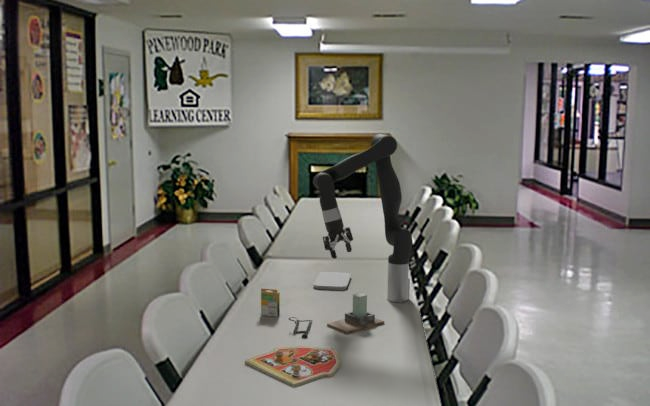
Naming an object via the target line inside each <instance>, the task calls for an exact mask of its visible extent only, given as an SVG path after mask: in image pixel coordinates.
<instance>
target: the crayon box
mask: <svg viewBox="0 0 650 406" xmlns="http://www.w3.org/2000/svg"><path fill="white" fill-rule="evenodd" d="M280 302H281V301H280V292H278V289H273V288H272V289H271V288H262V287H261V288H260V315H261V316H264V317H265V316H266V317H275V318H278V317H279V316H280V315H281V313H280V306H281V305H280Z"/></svg>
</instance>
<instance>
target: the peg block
mask: <svg viewBox="0 0 650 406" xmlns="http://www.w3.org/2000/svg"><path fill="white" fill-rule="evenodd" d="M367 306H368V295H367V294H364V293H363V292H362V293H361V292H358V293H354V294H352V312H353V316H356V317H359V318H360V317H364V316H367V312H368V309H367V308H368V307H367Z"/></svg>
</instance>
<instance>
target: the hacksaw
mask: <svg viewBox="0 0 650 406" xmlns="http://www.w3.org/2000/svg"><path fill="white" fill-rule="evenodd" d="M294 319H296V317H293V316H292V317H288V320H289V321H292V322H294V324H295V327H294V330H293V333H292V334H293V335H296V334H301V333H303V334H302V335H301V338H302V339H307V338H308V334H309V332H310V330H311V327H312V324H313V320H311V319H309V320H308V319H306V320H301V319H300V320H299V319H296V320H294ZM300 322H301V323H302V322H309V323H308V324H307V327H306V330H299V327H298V326H300ZM298 330H299V331H298ZM289 335H291V332H289Z"/></svg>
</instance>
